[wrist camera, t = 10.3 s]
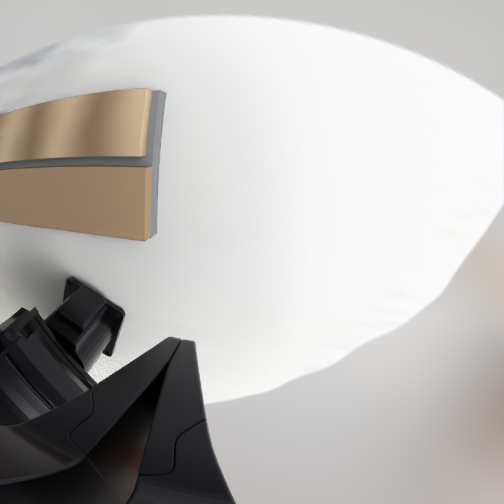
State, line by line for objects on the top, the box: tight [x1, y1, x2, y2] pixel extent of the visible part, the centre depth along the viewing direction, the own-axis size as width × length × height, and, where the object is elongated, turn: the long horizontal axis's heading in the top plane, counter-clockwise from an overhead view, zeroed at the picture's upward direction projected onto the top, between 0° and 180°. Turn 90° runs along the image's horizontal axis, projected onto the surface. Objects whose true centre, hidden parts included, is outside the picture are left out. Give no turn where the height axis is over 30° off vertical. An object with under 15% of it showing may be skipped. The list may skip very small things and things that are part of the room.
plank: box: [0, 88, 153, 163], centre depth 16 cm, size 19×4×1 cm, turn 83°
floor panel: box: [0, 90, 166, 241], centre depth 17 cm, size 20×10×2 cm, turn 83°
